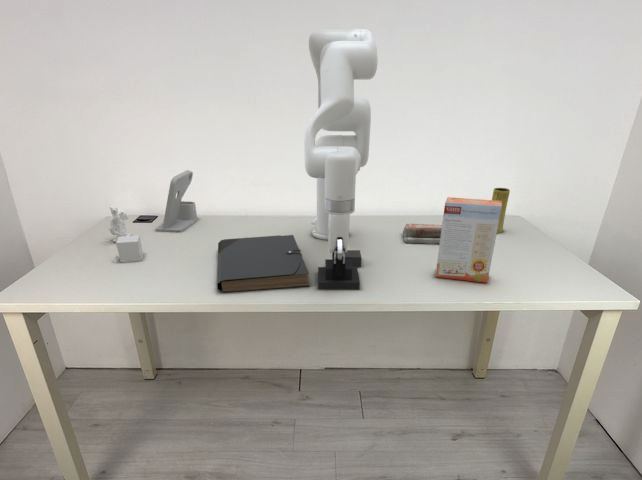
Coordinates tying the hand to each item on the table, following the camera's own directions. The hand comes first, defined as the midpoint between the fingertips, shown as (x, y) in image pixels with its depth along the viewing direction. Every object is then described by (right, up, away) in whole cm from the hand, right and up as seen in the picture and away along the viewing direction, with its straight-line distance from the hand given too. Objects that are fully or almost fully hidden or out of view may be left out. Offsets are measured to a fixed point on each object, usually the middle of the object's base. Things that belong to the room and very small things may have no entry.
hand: (338, 271), depth 127 cm
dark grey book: (-22, +3, +11) cm, 25 cm away
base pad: (0, -3, +2) cm, 3 cm away
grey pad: (+4, +5, +13) cm, 14 cm away
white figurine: (-71, +15, +30) cm, 79 cm away
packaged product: (+32, +16, +32) cm, 48 cm away
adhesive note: (-62, +7, +17) cm, 65 cm away
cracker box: (+35, -1, +4) cm, 35 cm away
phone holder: (-57, +25, +47) cm, 78 cm away
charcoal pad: (0, -1, 0) cm, 1 cm away
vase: (+57, +21, +41) cm, 73 cm away
